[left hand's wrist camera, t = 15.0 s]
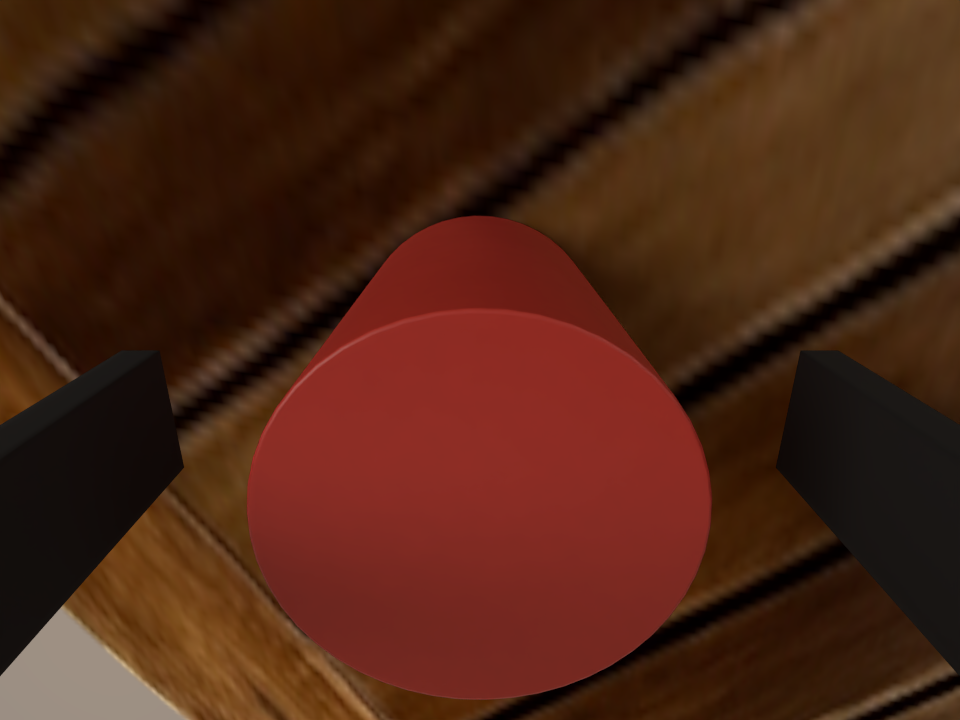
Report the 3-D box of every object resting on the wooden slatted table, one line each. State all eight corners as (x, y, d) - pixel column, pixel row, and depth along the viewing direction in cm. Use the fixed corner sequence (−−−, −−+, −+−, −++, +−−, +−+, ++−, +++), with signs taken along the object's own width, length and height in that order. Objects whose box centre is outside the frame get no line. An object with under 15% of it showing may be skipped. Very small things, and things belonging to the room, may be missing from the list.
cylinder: (589, 432, 19) (689, 696, 10) (375, 438, 19) (282, 706, 10) (599, 211, 16) (742, 300, 8) (352, 219, 17) (203, 316, 8)
